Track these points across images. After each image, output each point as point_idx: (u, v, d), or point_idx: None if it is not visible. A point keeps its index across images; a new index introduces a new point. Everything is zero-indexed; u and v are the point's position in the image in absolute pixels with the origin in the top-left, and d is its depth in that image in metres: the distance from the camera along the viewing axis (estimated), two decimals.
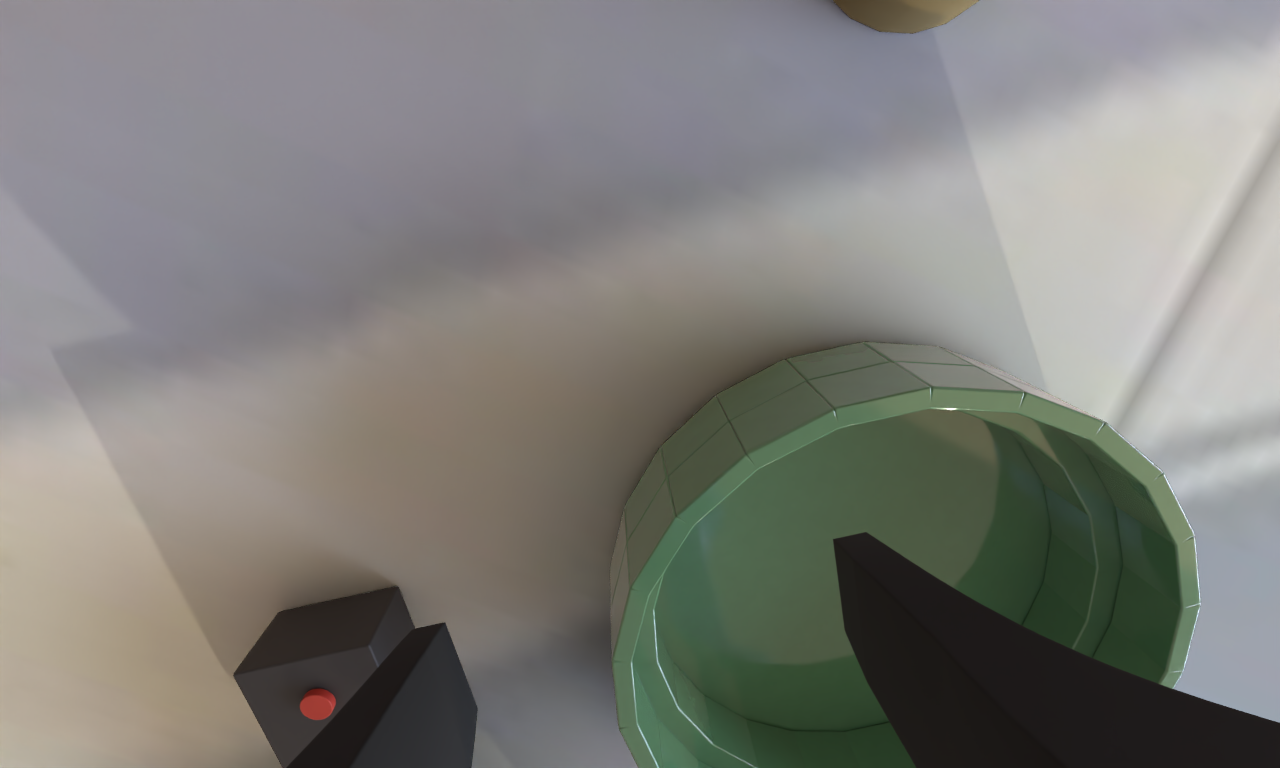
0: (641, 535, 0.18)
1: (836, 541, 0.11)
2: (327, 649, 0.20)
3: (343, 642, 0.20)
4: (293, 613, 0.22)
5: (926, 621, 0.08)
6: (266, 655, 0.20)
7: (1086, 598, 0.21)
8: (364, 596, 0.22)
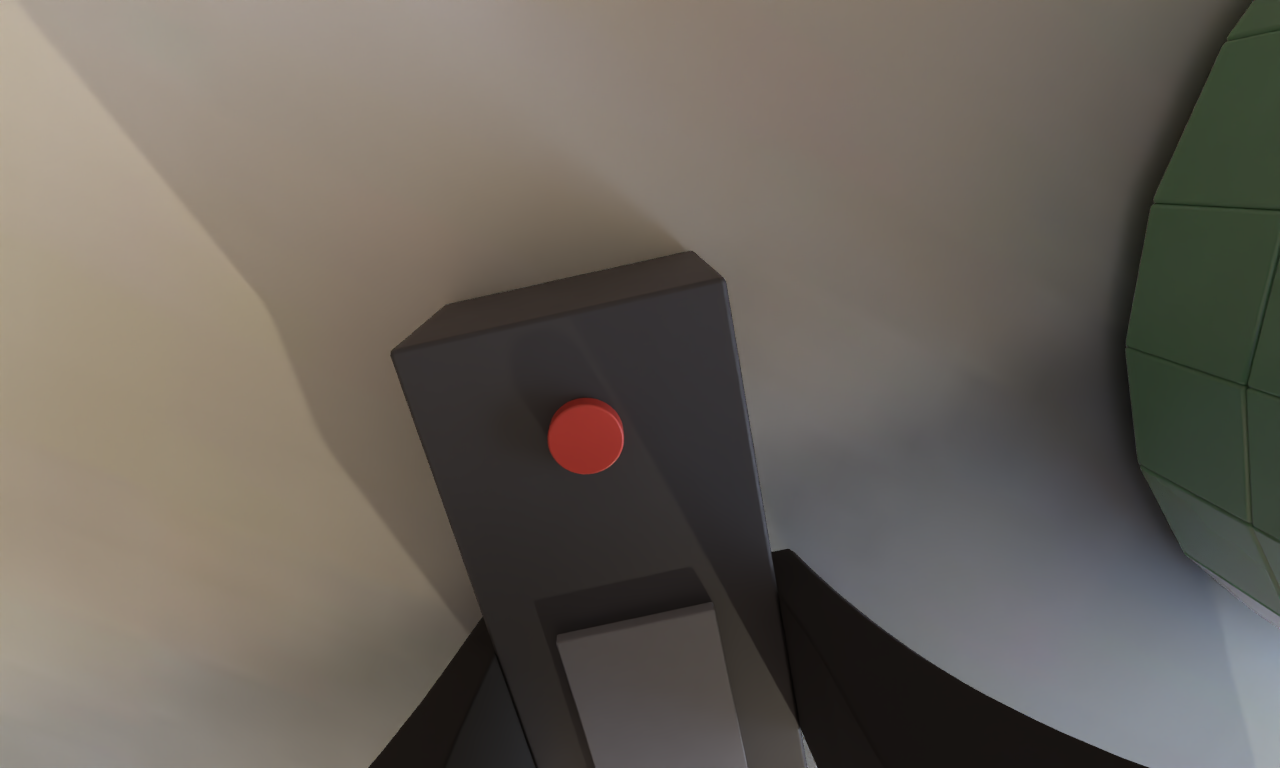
0: None
1: None
2: (615, 297, 0.08)
3: (649, 287, 0.08)
4: (480, 299, 0.11)
5: (821, 643, 0.08)
6: (459, 327, 0.09)
7: None
8: (629, 265, 0.11)
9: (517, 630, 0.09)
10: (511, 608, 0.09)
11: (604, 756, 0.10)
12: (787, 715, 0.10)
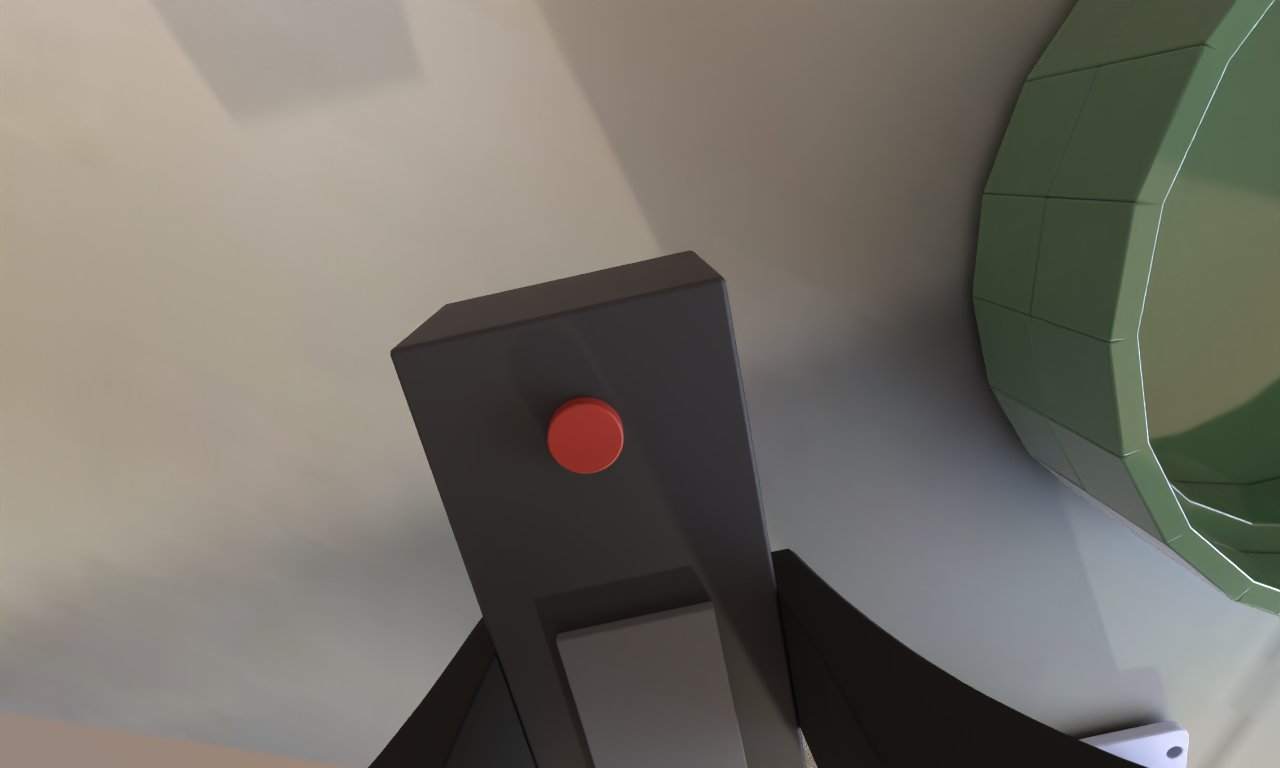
0: (1163, 12, 0.11)
1: None
2: (616, 298, 0.08)
3: (648, 287, 0.08)
4: (480, 299, 0.11)
5: (821, 644, 0.08)
6: (459, 326, 0.09)
7: None
8: (628, 265, 0.11)
9: (517, 629, 0.10)
10: (511, 607, 0.09)
11: (604, 755, 0.10)
12: (786, 714, 0.10)
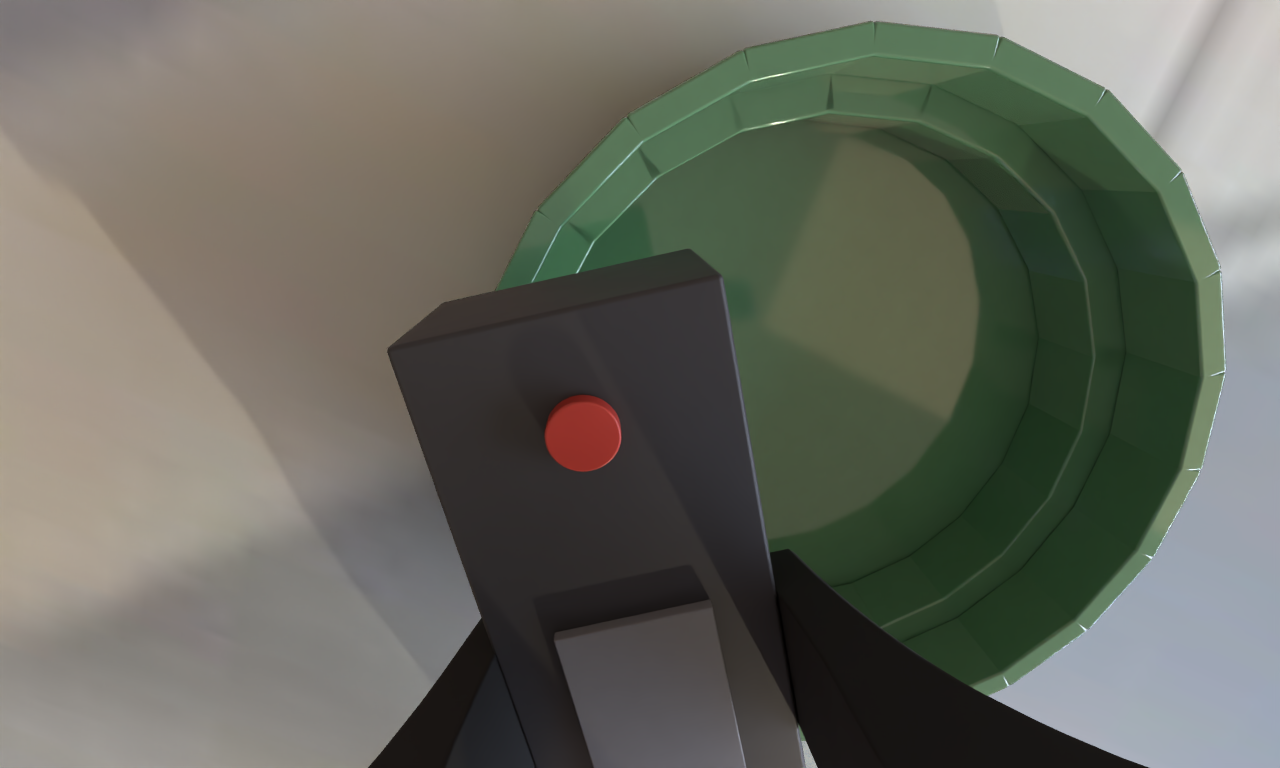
0: None
1: None
2: (613, 294, 0.08)
3: (646, 284, 0.08)
4: (478, 297, 0.11)
5: (821, 643, 0.08)
6: (456, 324, 0.09)
7: (1080, 402, 0.17)
8: (626, 263, 0.11)
9: (515, 628, 0.09)
10: (509, 606, 0.09)
11: (602, 754, 0.10)
12: (785, 713, 0.10)
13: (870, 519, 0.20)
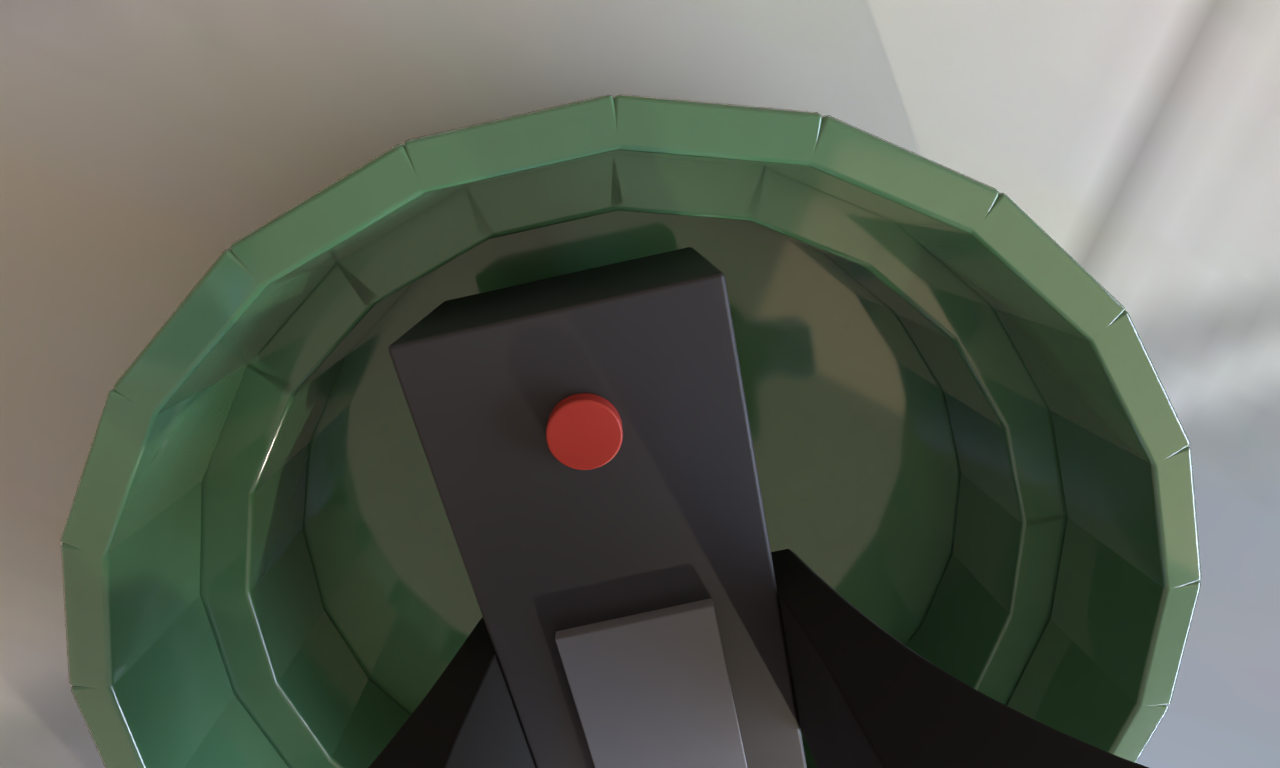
0: None
1: None
2: (614, 293, 0.08)
3: (647, 283, 0.08)
4: (479, 295, 0.10)
5: (821, 643, 0.08)
6: (457, 322, 0.09)
7: (1008, 576, 0.13)
8: (628, 262, 0.11)
9: (515, 627, 0.09)
10: (509, 605, 0.09)
11: (603, 753, 0.10)
12: (786, 712, 0.10)
13: None
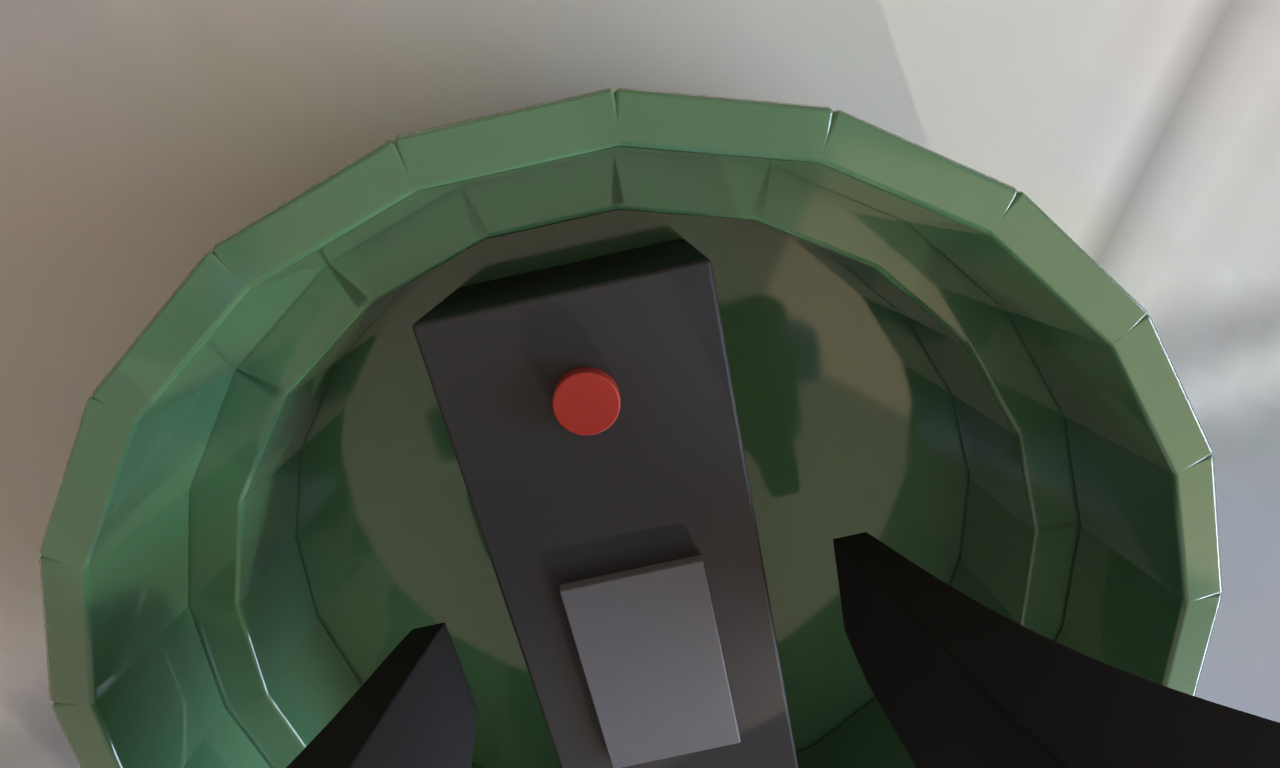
0: None
1: (836, 542, 0.11)
2: (613, 277, 0.09)
3: (642, 268, 0.09)
4: (490, 282, 0.12)
5: (926, 621, 0.08)
6: (473, 304, 0.10)
7: (1019, 586, 0.12)
8: (625, 252, 0.12)
9: (524, 580, 0.10)
10: (519, 560, 0.10)
11: (603, 696, 0.11)
12: (770, 661, 0.11)
13: None
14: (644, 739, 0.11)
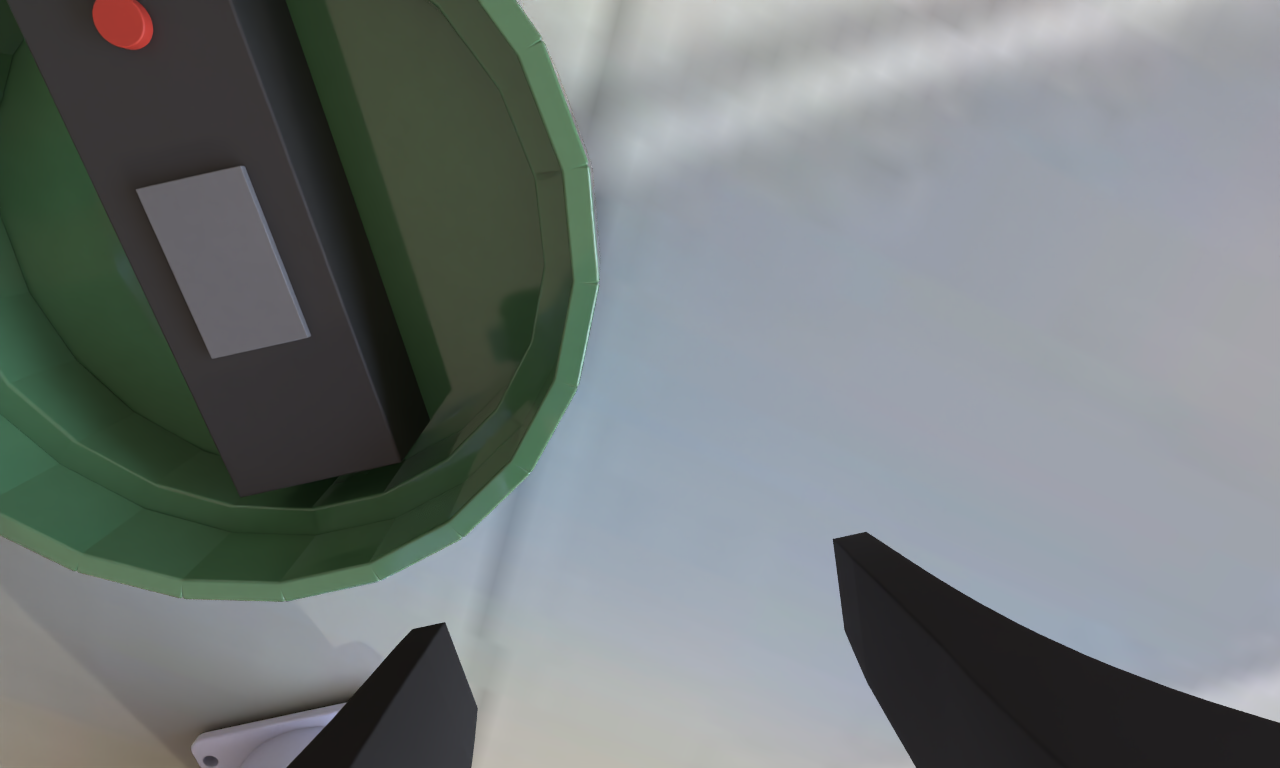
0: None
1: (836, 542, 0.11)
2: None
3: None
4: None
5: (926, 621, 0.08)
6: None
7: (541, 233, 0.16)
8: None
9: (112, 184, 0.14)
10: (105, 165, 0.14)
11: (189, 289, 0.15)
12: (321, 267, 0.15)
13: None
14: (230, 330, 0.15)
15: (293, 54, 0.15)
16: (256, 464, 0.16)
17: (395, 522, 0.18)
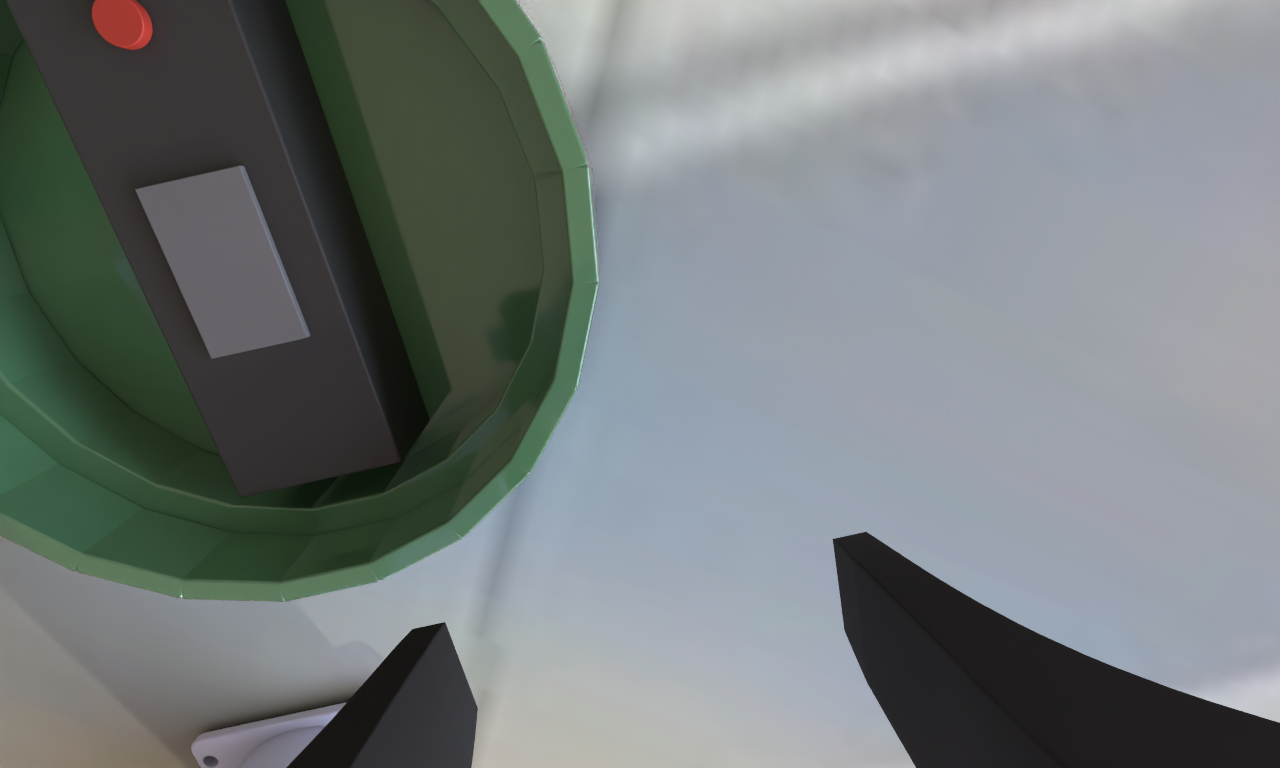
0: None
1: (836, 542, 0.11)
2: None
3: None
4: None
5: (926, 621, 0.08)
6: None
7: None
8: None
9: (112, 184, 0.14)
10: (104, 165, 0.14)
11: (188, 289, 0.15)
12: (320, 267, 0.15)
13: None
14: (230, 330, 0.15)
15: (292, 54, 0.15)
16: (256, 464, 0.16)
17: (395, 522, 0.18)
